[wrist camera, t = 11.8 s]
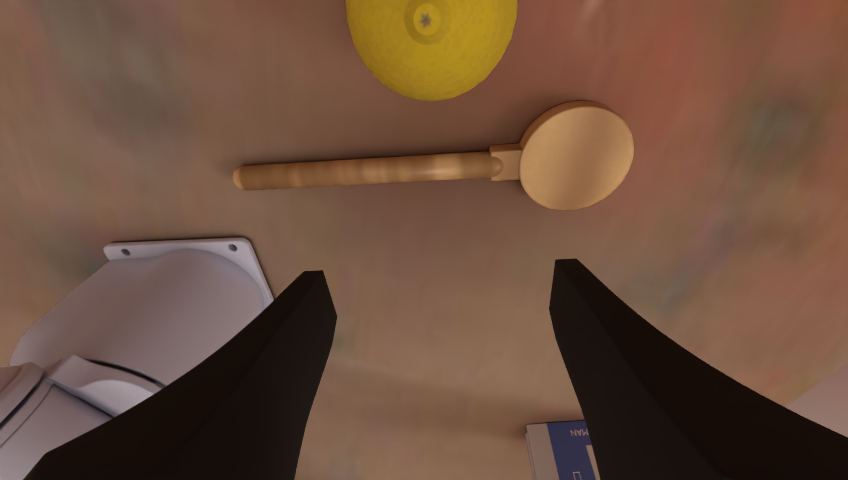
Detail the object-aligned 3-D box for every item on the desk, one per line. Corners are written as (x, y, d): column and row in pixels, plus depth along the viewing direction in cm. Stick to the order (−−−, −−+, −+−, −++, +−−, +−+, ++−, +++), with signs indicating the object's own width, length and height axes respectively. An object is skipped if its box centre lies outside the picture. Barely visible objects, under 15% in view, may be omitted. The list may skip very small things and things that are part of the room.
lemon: (378, -99, 14) (319, -172, 7) (520, -61, 14) (583, -97, 8) (362, 59, 17) (309, 107, 11) (479, 87, 18) (499, 150, 11)
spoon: (256, 215, 22) (246, 227, 21) (221, 125, 19) (207, 133, 18) (613, 198, 20) (622, 210, 19) (636, 96, 17) (649, 103, 16)
